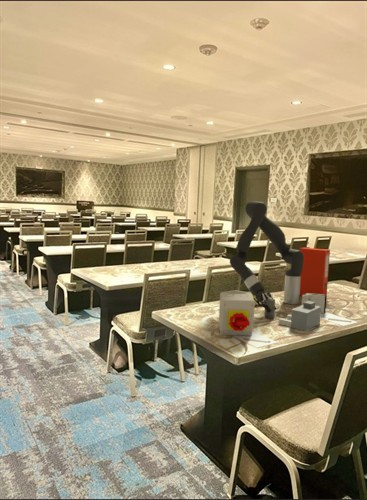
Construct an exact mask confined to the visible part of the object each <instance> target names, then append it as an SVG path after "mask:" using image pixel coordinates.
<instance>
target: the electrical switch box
mask: <svg viewBox="0 0 367 500" xmlns="http://www.w3.org/2000/svg"><path fill="white" fill-rule="evenodd" d="M251 294H252V293H251V292H247V291H242V290H237V289H235V290H229V291H227V290H226V291H221V292H220V293H219V309H218V310H219V313H218V329H219V332H220V335H222V336H252V335H253V331H254V320H255V306H254V303H255V302H254V299H253V297H252V295H251Z"/></svg>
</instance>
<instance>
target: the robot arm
mask: <svg viewBox="0 0 367 500" xmlns="http://www.w3.org/2000/svg"><path fill="white" fill-rule="evenodd" d="M244 209H245V213H246V215H247V216H248V217H249V218H250V222H249V224H248V225H247V227H246V228H245V229H244V230H243V232H242V233H241V235H240V236H239V238H238V242H237V244H236V247H235V249H236V253H235V254H234V255H232V256H231V257H230V258H229V264H230V266H231V267H232V269H233V270H234V271H235V272H236V273H237V275H238V276H239V277H240V278H241V280H242V282H244V284H245V286H246V287H247V289H248V291H249V293H251V294H252V295H253V296H256V297H255V298H254V300H255V301H256V302H257V304H256V305H258V306H259V307H260V308H264V311H265V310H266V311H267V312H268V313H270V312H271V309H270V308H269V306H268V305H267V303H266V299H267V298H269V297H271V298H272V299H274V298H273V296H272V294H271V292H269V291H268V292H266V291H265V286H264V285H263V284H262V283H261V281H260V279H259V278H258V277H257V276H256V274H255V273H254V272H253V271H252V269H250V267H248V266H247V265H246V262H247V258H248V251H249V249H250V248H251V247H250V246H251V244H252V241H253V239H254V237H255V234H257V233H256V232H257V231H258V229H260V230H261V232H262V233H263V234H264V235H265V237H267V239H268V240H269V241H270V242H271V244H272V245H273V246H274V247H275V249H276V250H277V251H278V253H279V255H280V256H281V258H282V260H283V261H284V262H285V263H286V264H289V265H291V266H290V269H286V270H285V275H284V276H285V277H284V294H283V295H284V296H283V303H286V304H289V305H299V304H300V297H301V295H300V282H301V273H302V269H303V261H304V256H303V253H302V252H301V251H299V250H300V249H293V248H291V247H290V246H289V245H288V244H287V242H286V235H285V233H284V231H283V229H281V227H280V226H279V225H278V224H277V223H276V222H274V221H273V220H271V219H270V218H268V216H266V214H267V209H268V208H267V205H266V204H265V202H263V201H256V200H255V201H254V200H253V201H252V200H251V201H249V202H248V203H246V205H245V207H244ZM277 309H278V308H277V306H276V305H275V311H276V310H277Z"/></svg>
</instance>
